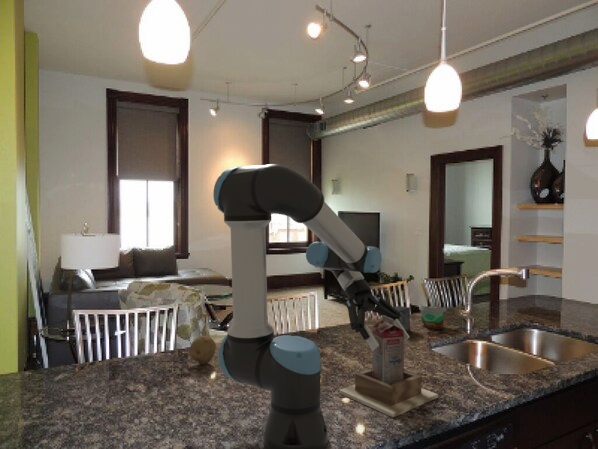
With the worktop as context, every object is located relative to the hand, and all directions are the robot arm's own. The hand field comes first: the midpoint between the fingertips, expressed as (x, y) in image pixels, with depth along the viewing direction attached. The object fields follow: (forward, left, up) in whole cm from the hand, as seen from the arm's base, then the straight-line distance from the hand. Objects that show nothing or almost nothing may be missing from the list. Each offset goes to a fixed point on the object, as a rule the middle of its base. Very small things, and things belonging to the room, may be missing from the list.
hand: (391, 344), depth 129 cm
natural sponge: (-30, +59, -15) cm, 68 cm away
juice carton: (0, +1, -14) cm, 15 cm away
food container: (+75, +37, -16) cm, 85 cm away
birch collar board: (0, +1, -15) cm, 15 cm away
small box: (+58, +43, -16) cm, 74 cm away
